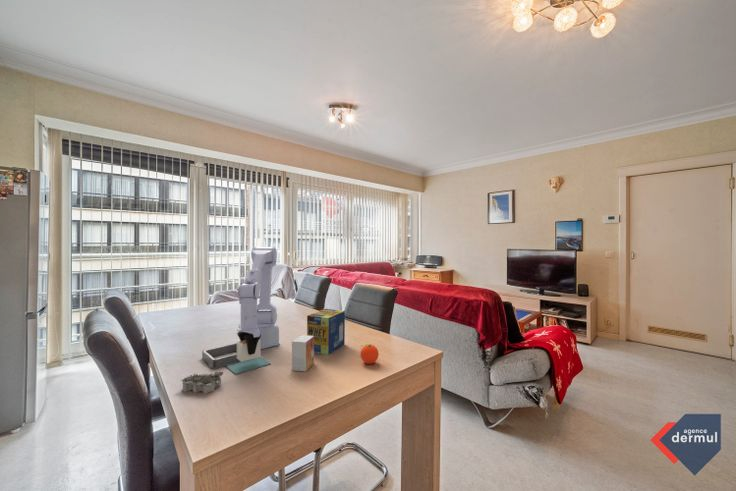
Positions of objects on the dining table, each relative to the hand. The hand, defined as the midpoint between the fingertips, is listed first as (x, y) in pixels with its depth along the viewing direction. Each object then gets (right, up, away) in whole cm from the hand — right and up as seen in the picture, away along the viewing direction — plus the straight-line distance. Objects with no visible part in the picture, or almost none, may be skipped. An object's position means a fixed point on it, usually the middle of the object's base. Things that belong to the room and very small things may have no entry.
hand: (248, 352), depth 110 cm
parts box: (0, -2, 0) cm, 2 cm away
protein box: (+26, -5, +19) cm, 33 cm away
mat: (0, -5, 0) cm, 5 cm away
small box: (+21, -5, -1) cm, 21 cm away
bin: (-11, -5, +7) cm, 14 cm away
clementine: (+45, -5, +3) cm, 45 cm away
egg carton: (-8, -5, -17) cm, 19 cm away
